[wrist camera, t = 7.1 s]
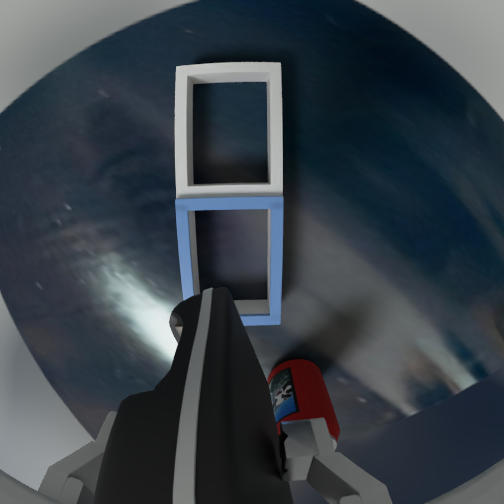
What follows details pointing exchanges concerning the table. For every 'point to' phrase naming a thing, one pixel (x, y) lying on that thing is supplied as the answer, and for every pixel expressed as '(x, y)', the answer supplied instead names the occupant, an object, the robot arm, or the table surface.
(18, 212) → the table surface
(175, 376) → the battery charger
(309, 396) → the beverage can
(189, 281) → the tray
